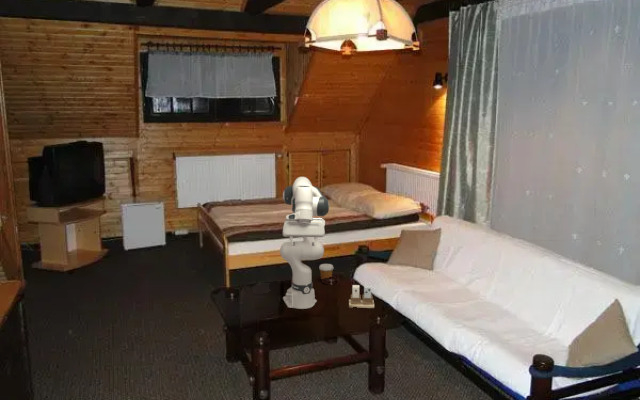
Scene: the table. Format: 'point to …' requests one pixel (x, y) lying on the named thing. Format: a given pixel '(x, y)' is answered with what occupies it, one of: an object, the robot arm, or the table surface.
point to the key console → (361, 302)
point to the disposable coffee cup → (326, 270)
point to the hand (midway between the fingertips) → (303, 245)
